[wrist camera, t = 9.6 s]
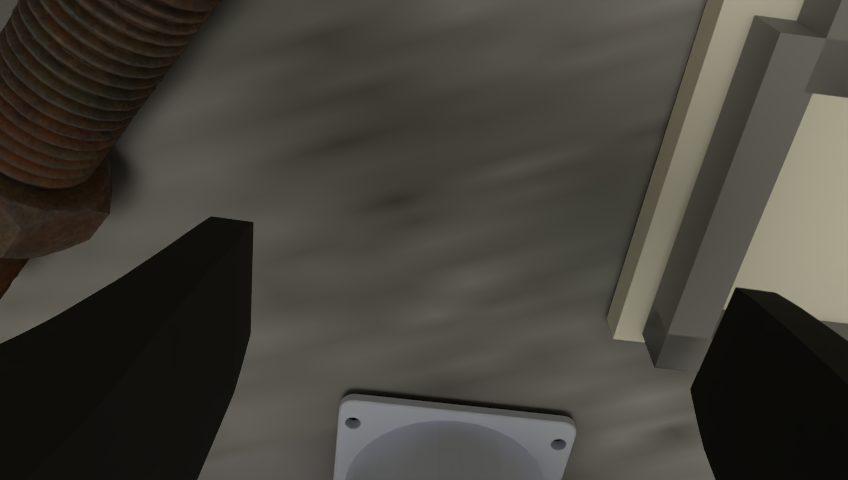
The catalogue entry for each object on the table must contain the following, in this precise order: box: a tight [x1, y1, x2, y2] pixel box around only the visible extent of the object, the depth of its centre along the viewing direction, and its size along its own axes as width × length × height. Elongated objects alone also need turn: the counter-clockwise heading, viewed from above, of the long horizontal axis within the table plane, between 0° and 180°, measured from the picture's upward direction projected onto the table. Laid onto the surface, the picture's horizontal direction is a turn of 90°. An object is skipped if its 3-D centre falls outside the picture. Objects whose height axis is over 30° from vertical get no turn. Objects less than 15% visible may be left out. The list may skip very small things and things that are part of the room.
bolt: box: [0, 0, 220, 299], centre depth 17 cm, size 6×5×15 cm
